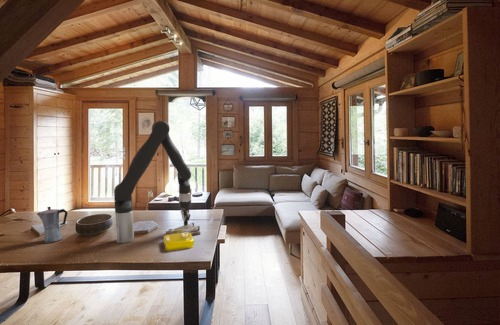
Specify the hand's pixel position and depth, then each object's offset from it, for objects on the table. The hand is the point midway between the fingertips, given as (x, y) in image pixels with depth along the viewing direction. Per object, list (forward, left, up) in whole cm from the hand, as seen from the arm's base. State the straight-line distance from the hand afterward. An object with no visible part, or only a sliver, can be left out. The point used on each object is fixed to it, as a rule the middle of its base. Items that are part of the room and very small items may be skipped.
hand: (185, 226), depth 179 cm
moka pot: (-72, +23, -3) cm, 75 cm away
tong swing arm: (-2, -3, -1) cm, 4 cm away
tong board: (-4, -6, -3) cm, 8 cm away
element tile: (-11, -21, -3) cm, 24 cm away
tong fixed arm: (-3, -7, -1) cm, 8 cm away
